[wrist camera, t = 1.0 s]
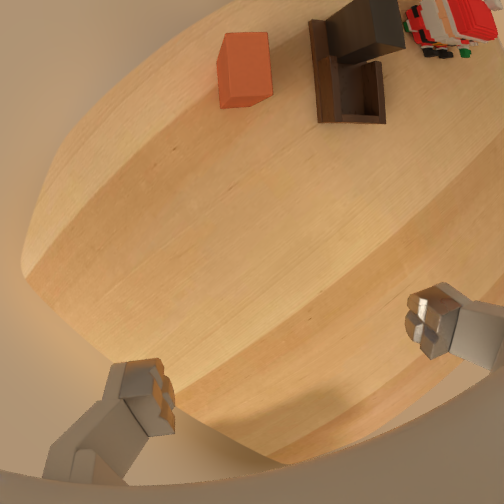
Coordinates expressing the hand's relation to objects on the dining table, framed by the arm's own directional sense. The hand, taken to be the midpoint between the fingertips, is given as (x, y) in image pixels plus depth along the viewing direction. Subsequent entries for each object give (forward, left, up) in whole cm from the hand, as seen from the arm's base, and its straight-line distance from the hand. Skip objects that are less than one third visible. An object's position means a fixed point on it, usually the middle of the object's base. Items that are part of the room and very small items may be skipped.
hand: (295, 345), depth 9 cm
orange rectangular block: (-7, +9, -23) cm, 26 cm away
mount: (-1, +18, -23) cm, 30 cm away
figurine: (+3, +34, -24) cm, 41 cm away
